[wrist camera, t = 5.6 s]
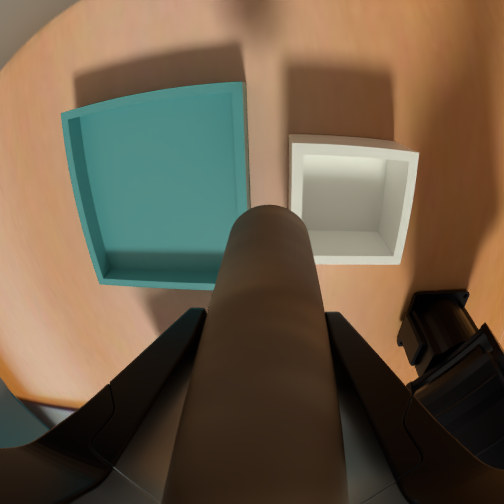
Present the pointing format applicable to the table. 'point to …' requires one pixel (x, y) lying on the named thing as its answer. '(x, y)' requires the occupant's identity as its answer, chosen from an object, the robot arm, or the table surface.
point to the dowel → (262, 379)
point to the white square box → (352, 196)
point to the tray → (160, 182)
